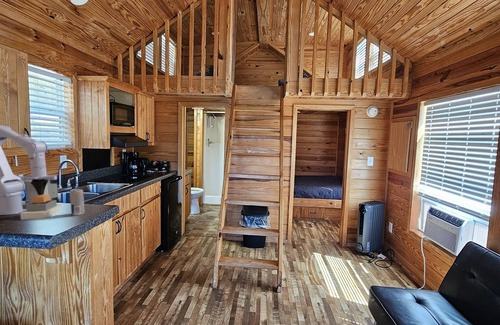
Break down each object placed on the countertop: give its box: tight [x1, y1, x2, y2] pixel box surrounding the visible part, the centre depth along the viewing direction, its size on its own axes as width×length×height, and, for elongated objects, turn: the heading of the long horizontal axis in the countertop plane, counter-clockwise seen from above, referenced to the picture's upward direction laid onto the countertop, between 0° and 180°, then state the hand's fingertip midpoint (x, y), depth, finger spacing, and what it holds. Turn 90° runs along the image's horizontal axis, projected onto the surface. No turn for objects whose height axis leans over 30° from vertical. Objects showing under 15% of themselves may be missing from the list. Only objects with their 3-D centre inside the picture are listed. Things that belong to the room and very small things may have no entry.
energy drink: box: [69, 188, 86, 217], centre depth 127 cm, size 5×5×12 cm
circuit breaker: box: [23, 178, 59, 207], centre depth 143 cm, size 8×14×15 cm, turn 174°
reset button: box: [32, 195, 50, 203], centre depth 126 cm, size 5×5×2 cm
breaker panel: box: [19, 199, 63, 221], centre depth 127 cm, size 10×14×6 cm
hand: (40, 194), depth 126 cm, fingers closed
